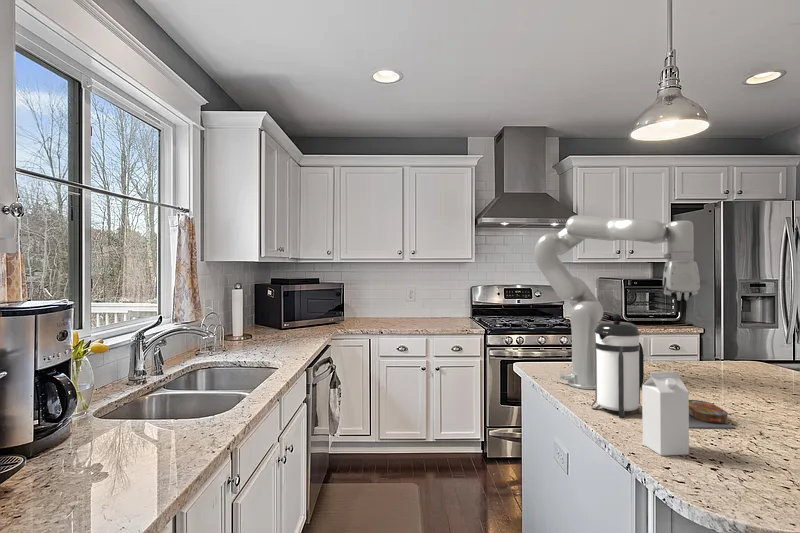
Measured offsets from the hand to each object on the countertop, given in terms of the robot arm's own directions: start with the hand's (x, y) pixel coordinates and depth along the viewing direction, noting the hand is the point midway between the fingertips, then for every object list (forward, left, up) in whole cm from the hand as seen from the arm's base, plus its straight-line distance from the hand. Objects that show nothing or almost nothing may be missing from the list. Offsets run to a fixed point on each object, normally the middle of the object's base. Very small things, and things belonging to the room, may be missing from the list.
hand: (680, 311), depth 154 cm
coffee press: (-26, -13, -29) cm, 41 cm away
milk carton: (-28, -44, -29) cm, 60 cm away
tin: (0, -20, -28) cm, 34 cm away
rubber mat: (-8, -20, -29) cm, 36 cm away
